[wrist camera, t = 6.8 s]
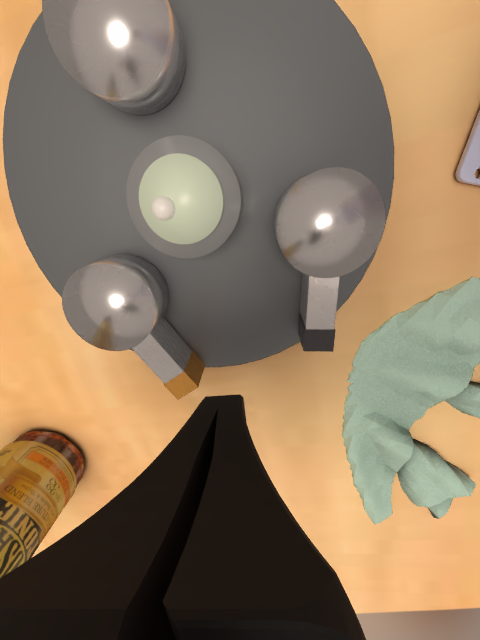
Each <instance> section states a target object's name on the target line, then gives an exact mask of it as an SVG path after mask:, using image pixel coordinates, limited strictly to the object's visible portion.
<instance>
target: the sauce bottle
mask: <svg viewBox="0 0 480 640" xmlns="http://www.w3.org/2000/svg"><path fill="white" fill-rule="evenodd" d="M83 471H84V461H83V457H82V456H81V452H80V451H79V450H78V449H77V448H76V447H75V446H74V445H73V444H72V443H71V442H70V441H68V440H66V439H65V437H64V436H62V435H60V434H58V433H55V432H45V431H31V432H28V433H26V434H23V435H21V436H20V437H19V438H17V439H16V440H15V441H14V442H13V443H10V444H8V445H6V446H5V447H4V448H3V449H1V450H0V579H1V577H2V576H4V575H6V574H7V573H9V572H11V571H12V570H14V569H15V568H17V567H19V566H20V565H22V564H23V563H25V562H26V561H28V560H29V559H31V557H32V556H33V554H34V552H35V551H36V549H37V548H38V546H39V545H40V543H41V542H42V540H43V539H44V537H45V536H46V534H47V533H48V531H49V530H50V528H51V527H52V525H53V524H54V522H55V521H56V519H57V518H58V516H59V515H60V513H61V512H62V510H63V508H64V507H65V506H66V504H67V503H68V501H69V500H70V498H71V497H72V495H73V494H74V492H75V488H76V487H77V485H78V483H79V481H80V480H81V478H82V476H83Z"/></svg>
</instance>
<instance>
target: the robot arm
mask: <svg viewBox="0 0 480 640" xmlns="http://www.w3.org/2000/svg"><path fill="white" fill-rule="evenodd" d="M477 169H480V110H479V113H478V115H477V118H476V121H475V123H474V126H473V128H472V131H471V134H470V136H469V139H468V142H467V144H466V147H465V149H464V152H463V155H462V157H461V160H460V162H459V165H458V168H457V170H456V179H457V180H458V181H459V182H462V183H467V184H473V185H479V186H480V176H479V177H478V178H475V171H476V170H477ZM0 640H366V638H365V636H364V633H363V630H362V628H361V625H360V623H359V620H358V618H357V616H356V613H355V611H354V609H353V607H352V605H351V603H350V601H349V598H348V596H347V594H346V592H345V590H344V588H343V586H342V584H341V582H340V580H339V578H338V576H337V574H336V572H335V571H334V570H333V568H332V567H331V566H330V565H329V563H328V562H327V561H326V560H325V559H324V557H323V556H322V555H321V554H320V552H319V551H318V550H317V548H316V547H315V546H314V545H313V543H312V542H311V541H310V539H309V538H308V537H307V535H306V534H305V532H304V531H303V530H302V528H301V527H300V525H299V524H298V523H297V521H296V520H295V518H294V517H293V515H292V514H291V512H290V511H289V509H288V507H287V506H286V504H285V503H284V501H283V500H282V498H281V497H280V495H279V493H278V492H277V490H276V488H275V487H274V485H273V483H272V481H271V480H270V478H269V476H268V474H267V472H266V470H265V468H264V466H263V464H262V462H261V460H260V458H259V455H258V453H257V451H256V449H255V446H254V444H253V441H252V439H251V436H250V433H249V430H248V427H247V424H246V416H245V408H244V400H243V397H242V396H241V395H225V396H209V397H205V398H204V399H203V400H202V402H201V403H200V404H199V406H198V407H197V409H196V410H195V411H194V413H193V414H192V415H191V417H190V418H189V419H188V421H187V422H186V423H185V425H184V426H183V427H182V428H181V430H180V431H179V432H178V433H177V435H176V436H175V437H174V438H173V440H172V441H171V442H170V443H169V444H168V445H167V447H166V448H165V449H164V450H163V451H162V452H161V453H160V454H159V456H158V457H157V458H156V459H155V460H154V461H153V462H152V463H151V464H150V465H149V466H148V467H147V468H146V469H145V470H144V471H143V472H142V473H141V474H140V475H139V476H138V477H137V478H136V479H135V480H134V481H133V482H132V483H131V484H130V485H129V486H128V487H126V488H125V489H124V490H123V491H122V492H120V493H119V494H118V495H117V496H116V497H114V498H113V499H112V500H111V501H110V502H109V503H107V504H106V505H105V506H104V507H103V508H101V509H100V510H99V511H98V512H96V513H95V514H94V515H92V516H91V517H90V518H89V519H87V520H86V521H85V522H83V523H82V524H81V525H79V526H78V527H76V528H75V529H74V530H72V531H71V532H70V533H68V534H67V535H65V536H64V537H63V538H61V539H60V540H58V541H57V542H55V543H54V544H52V545H51V546H49V547H48V548H46V549H45V550H43V551H42V552H40V553H39V554H37V555H36V556H34V557H32V558H31V559H29V560H28V561H26V562H25V563H23V564H22V565H20V566H19V567H17V568H15V569H14V570H12V571H11V572H9V573H7V574H6V575H4V576H2V577H1V579H0Z"/></svg>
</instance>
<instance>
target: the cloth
mask: <svg viewBox="0 0 480 640" xmlns="http://www.w3.org/2000/svg"><path fill="white" fill-rule="evenodd" d="M479 363H480V278H476V277H471V278H470V279H469V280H467V281H464V282H461V283H459V284H458V285H456V286H454V287H452V288H450V289H449V290H445V291H441V292H438V293H436V294H435V295H433V296H432V297H431V298H429V299H428V300H425V301H422V302H419V303H417V304H415V305H414V306H413V307H411V308H410V309H409V310H407V311H404V312H400V313H398V314H397V315H396V314H395V315H394V316H393V317H391V318H390V319H389V320H388V321H386V322H385V323H384V324H383V325H382V326H381V327H379V328H378V329H376V330H375V331H373V332H372V333H370V335H369V336H368V337H367V338H366V339H365V340H364V341H362V343H361V345H360V347H359V349H358V351H357V354H356V356H355V358H354V360H353V363H352V364H353V370H352V371H351V373H350V374H349V378H348V380H347V382H350V383H352V384H351V385H350V386H349V387H348V390H349V394H348V395H347V397H346V401H345V405H346V406H345V407H344V410H345V414H344V416H343V419H344V422H343V433H342V436H343V438H344V445H345V447H346V453H347V460H348V461H349V463H350V464H351V465H350V469H351V470H352V476H353V478H354V485H355V487H356V488H357V491H358V492H359V493H360V497H361V499H362V500H363V505H364V509H365V511H366V513H367V514H368V516H369V517H370V519H371V520H372V522H373V523H374V524H378V523H380V522H382V521H383V520H385V519H386V518H388V517H389V516H391V515H392V504H391V489H392V483H393V480H394V476H395V474H396V473H397V474H398V478H399V481H400V485H401V487H402V489H403V491H404V492H405V493H406V495H407V496H408V498H409V499H410V500H411V502H412V503H414V504H415V505H417V506H421V507H428V508H429V510H430V512H431V514H432V516H433V518H438V519H440V518H441V517H442V516H444V515H445V514H446V513H447V511H448V509H449V507H450V505H451V502H452V500H453V498H454V497H464V496H471V494H472V492H473V490H474V488H475V486H476V484H475V483H474V482H473V481H472V480H471V479H470V478H469V477H468V476H467V475H466V474H464V473H463V472H462V471H460V470H459V469H458V468H456V467H455V466H453V465H452V464H450V463H449V462H447V461H445V460H443V459H442V458H441V457H440V456H439V455H438V454H437V453H436V452H435V451H433V450H432V449H431V448H430V447H428V446H426V445H425V444H423V443H421V442H419V441H417V440H415V439H413V438H412V436H411V434H410V432H409V429H410V427H411V426H412V425H413V423H414V422H415V421H416V420H418V419H420V418H421V417H423V415H424V414H425V412H426V411H427V409H428V408H430V407H432V406H434V405H436V404H438V403H440V402H442V401H446V402H447V403H449V404H450V405H451V406H453V407H454V408H456V409H457V410H459V411H461V412H462V413H465V414H468V415H471V416H475V417H478V418H480V383H478V382H473V381H470V380H471V378H472V375H473V371H474V367H476V366H477V365H478V364H479Z"/></svg>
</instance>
